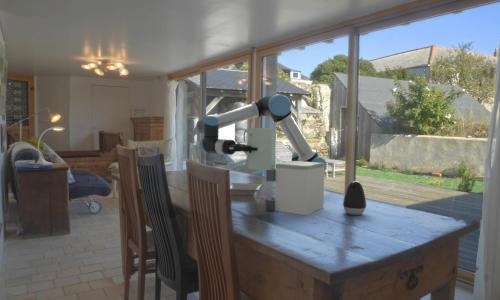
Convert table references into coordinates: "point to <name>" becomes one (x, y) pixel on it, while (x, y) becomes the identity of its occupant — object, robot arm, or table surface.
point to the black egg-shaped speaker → (354, 199)
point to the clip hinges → (271, 203)
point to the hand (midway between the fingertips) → (265, 149)
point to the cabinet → (299, 187)
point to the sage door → (266, 140)
